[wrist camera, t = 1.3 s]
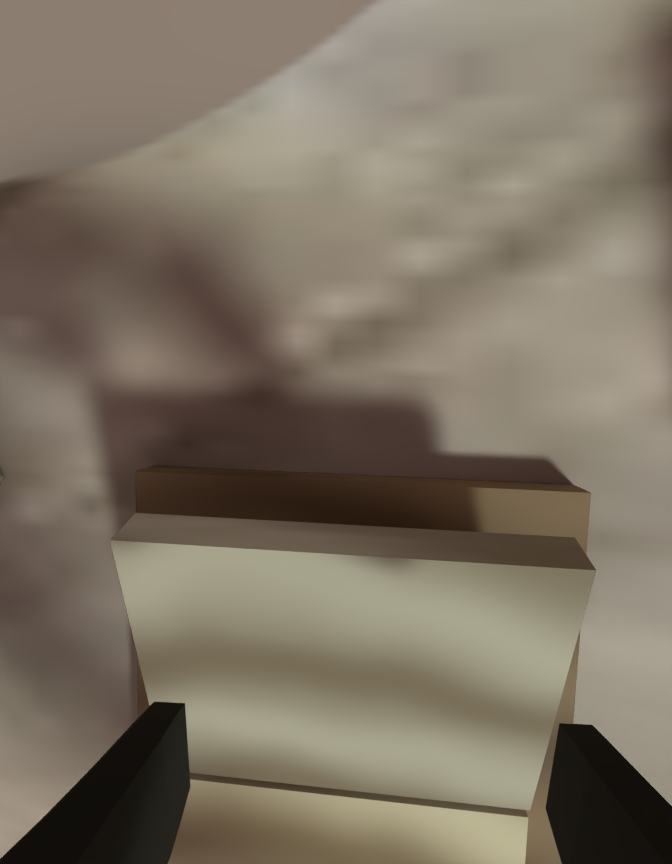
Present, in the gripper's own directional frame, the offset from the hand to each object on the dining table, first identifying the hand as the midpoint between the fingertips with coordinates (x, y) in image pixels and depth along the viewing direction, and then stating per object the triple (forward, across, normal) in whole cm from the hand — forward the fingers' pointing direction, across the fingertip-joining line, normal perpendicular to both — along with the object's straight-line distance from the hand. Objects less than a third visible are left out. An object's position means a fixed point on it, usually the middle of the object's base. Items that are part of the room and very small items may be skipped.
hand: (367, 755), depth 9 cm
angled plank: (+7, +1, +4) cm, 8 cm away
